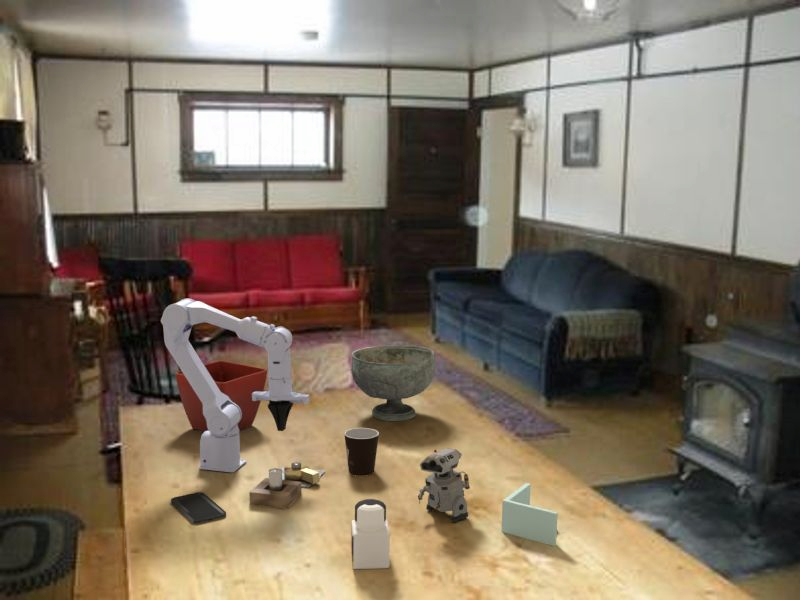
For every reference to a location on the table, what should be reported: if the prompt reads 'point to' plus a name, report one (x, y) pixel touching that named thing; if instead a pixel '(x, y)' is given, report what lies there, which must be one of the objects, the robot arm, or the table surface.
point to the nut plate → (303, 482)
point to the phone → (198, 508)
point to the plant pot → (225, 391)
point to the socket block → (275, 494)
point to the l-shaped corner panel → (528, 518)
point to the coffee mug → (361, 450)
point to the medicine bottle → (370, 536)
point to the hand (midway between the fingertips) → (281, 429)
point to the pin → (275, 479)
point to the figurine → (445, 484)
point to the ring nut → (300, 473)
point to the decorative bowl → (393, 376)
